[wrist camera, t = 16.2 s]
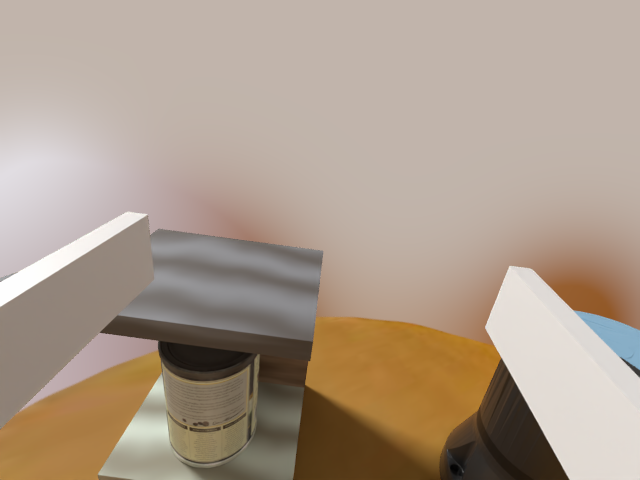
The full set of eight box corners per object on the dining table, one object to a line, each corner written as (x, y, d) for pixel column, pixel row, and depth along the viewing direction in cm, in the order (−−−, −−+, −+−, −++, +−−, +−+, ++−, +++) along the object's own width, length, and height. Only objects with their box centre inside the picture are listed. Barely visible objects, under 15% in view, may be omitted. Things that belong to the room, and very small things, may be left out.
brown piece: (289, 506, 35) (312, 341, 26) (99, 480, 35) (56, 306, 26) (304, 384, 50) (323, 250, 41) (169, 366, 50) (158, 228, 41)
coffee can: (158, 412, 42) (148, 320, 36) (237, 380, 48) (239, 296, 42) (181, 489, 35) (173, 389, 29) (271, 440, 41) (279, 349, 35)
